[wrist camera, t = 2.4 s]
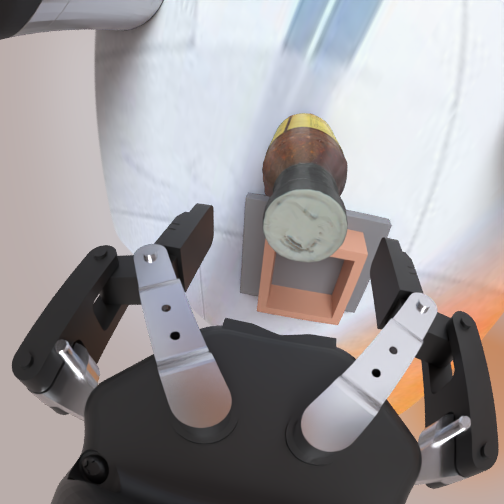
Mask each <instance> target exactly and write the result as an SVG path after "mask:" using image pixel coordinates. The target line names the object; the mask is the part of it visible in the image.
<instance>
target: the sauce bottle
mask: <svg viewBox="0 0 504 504" xmlns="http://www.w3.org/2000/svg"><path fill="white" fill-rule="evenodd" d="M262 171H263V182H264V185H265V194H266V195H267V196H269V197H270V198H269V200H268V202H267V204H266V206H265V210H264V214H263V232H264V237H265V238H266V240H267V242H268V244H269V245H270V246H271V247H272V248H273V250H274V251H275V252H277V253H278V254H279V255H281V256H283V257H285V258H288V259H290V260H294V261H299V262H308V263H309V262H318V261H321V260H323V259H326V258H328V257H329V256H331V255H333V254H334V253H335V252H336V251H337V250H338V248H339V247H340V246H341V245H342V244H343V242H344V240H345V237H346V234H347V229H348V222H347V215H346V209H345V206H344V203H343V201H342V199H341V197H340V195H341V194H342V192H343V189H344V187H345V183H346V179H347V161H346V159H345V157H344V154H343V151H342V149H341V147H340V145H339V144H338V142H337V140H336V138H335V136H334V134H333V132H332V130H331V128H330V127H329V125H328V124H327V123H326V122H325V121H324V120H322V119H321V118H319V117H317V116H315V115H313V114H305V113H302V114H296V115H292V116H290V117H288V118H287V119H286V120H284V121H283V122H282V123H281V125H280V126H279V127H278V129H277V131H276V133H275V135H274V137H273V139H272V141H271V143H270V146H269V148H268V150H267V152H266V156H265V159H264V162H263V169H262Z"/></svg>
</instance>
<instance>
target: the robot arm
mask: <svg viewBox="0 0 504 504" xmlns="http://www.w3.org/2000/svg"><path fill="white" fill-rule="evenodd" d="M162 1H163V0H0V40H1V39H5V38H9V37H15V36H20V35H26V34H33V33H39V32H49V31H60V30H79V29H102V30H130V29H134V28H136V27H138V26H140V25H142V24H143V23H145V22H146V21H147V20H149V19H150V18H151V17H152V16H153V15H154V14H155V12H156V11H157V10H158V8H159V7H160V5H161V3H162ZM213 235H214V220H213V206H212V205H205V204H198V203H197V204H196V205H195V206H194V207H193V208H192V210H191V211H190V212H184V213H182V214H180V215H179V216H177V217H176V218H175V219H174V220H173V221H172V223H171V224H170V225H169V226H168V227H167V229H166V230H165V231H164V232H163V234H162V235H161V236H160V237H159V238H158V240H157V241H156V242H155V243H154V244H149V245H145V246H142V247H140V248H139V249H138V250H137V251H136V252H135V253H134V255H130V256H117V252H116V249H115V248H114V247H112V246H108V245H105V246H99V247H96V248H95V249H93V250H91V251H90V252H89V253H88V254H87V256H86V257H85V258H84V259H83V260H82V262H81V263H80V264H79V265H78V266H77V268H76V269H75V270H74V271H73V273H72V274H71V275H70V276H69V278H68V279H67V280H66V281H65V283H64V284H63V285H62V286H61V288H60V289H59V290H58V292H57V293H56V294H55V296H54V297H53V298H52V300H51V301H50V303H49V304H48V305H47V307H46V308H45V309H44V311H43V312H42V314H41V315H40V317H39V318H38V320H37V321H36V323H35V324H34V325H33V327H32V328H31V330H30V331H29V333H28V334H27V336H26V338H25V339H24V341H23V342H22V344H21V345H20V347H19V349H18V351H17V352H16V354H15V356H14V358H13V361H12V370H13V373H14V375H15V376H16V377H17V378H18V379H19V380H20V381H21V382H22V383H23V384H24V385H25V386H26V387H27V388H28V390H29V391H30V392H31V393H32V394H34V395H35V396H36V397H37V398H38V399H39V400H41V401H42V402H43V403H44V404H45V405H47V406H49V407H50V408H52V409H53V410H54V411H55V412H57V413H59V414H62V415H66V414H71V415H73V416H75V417H77V418H79V419H81V420H83V421H84V423H85V437H84V445H83V450H82V453H81V455H80V457H79V459H78V460H77V462H76V463H75V464H74V466H73V467H72V468H71V470H70V471H69V472H68V473H67V474H66V476H65V477H64V478H63V479H62V480H61V482H60V483H59V485H58V487H57V489H56V492H55V494H54V497H53V500H52V502H51V504H405V503H406V500H407V498H408V495H409V493H410V491H411V489H412V488H413V486H414V485H418V484H426V485H427V486H428V487H430V488H433V489H435V488H439V487H443V486H446V485H449V484H452V483H455V482H457V481H461V480H463V479H466V478H469V477H471V476H474V475H476V474H479V473H481V472H483V471H486V470H488V469H490V468H491V467H492V466H493V465H494V463H495V462H496V459H497V456H498V434H497V423H496V413H495V406H494V399H493V393H492V387H491V382H490V377H489V372H488V367H487V363H486V359H485V355H484V351H483V347H482V344H481V340H480V336H479V333H478V329H477V326H476V323H475V322H474V320H473V319H472V318H471V317H470V316H469V315H468V314H467V313H465V312H462V311H457V312H455V313H454V315H453V316H452V317H451V318H449V317H447V316H445V315H443V314H440V313H438V312H437V306H436V304H435V302H434V301H433V300H432V299H431V298H430V297H429V296H427V295H425V294H423V291H422V288H421V285H420V282H419V279H418V276H417V273H416V270H415V269H414V268H415V267H414V265H413V262H412V260H411V258H410V257H409V256H408V255H407V254H406V252H402V249H401V247H400V244H399V241H398V240H395V239H390V238H386V237H383V238H382V239H381V241H380V243H379V246H378V248H377V251H376V254H375V256H374V259H373V261H372V264H371V268H370V279H371V285H372V291H373V298H374V305H375V312H376V320H377V328H378V329H382V331H381V332H380V333H379V334H378V335H377V337H376V338H375V339H374V340H373V341H372V343H371V344H370V345H369V346H368V347H367V348H366V349H365V351H364V352H363V353H362V354H361V355H360V356H359V357H358V358H357V359H355V358H354V357H353V356H351V355H350V354H349V353H347V352H346V351H344V350H342V349H340V348H338V347H336V338H330V337H324V336H317V335H311V334H304V335H278V334H276V333H273V332H271V331H268V330H266V329H264V328H261V327H259V326H257V325H254V324H252V323H247V322H242V321H238V320H233V319H228V318H225V320H224V323H223V326H211V327H206V328H202V329H199V327H198V325H197V322H196V320H195V317H194V315H193V312H192V310H191V307H190V305H189V302H188V300H187V297H186V295H185V292H186V291H187V289H188V287H189V285H190V283H191V281H192V279H193V278H194V276H195V274H196V272H197V270H198V268H199V267H200V265H201V263H202V261H203V259H204V258H205V256H206V254H207V252H208V250H209V248H210V247H211V244H212V241H213ZM98 294H100V295H99V297H98V298H97V300H96V301H95V303H94V300H95V299H96V297H97V296H98ZM93 303H94V304H93ZM136 304H137V305H142V308H143V313H144V317H145V321H146V325H147V329H148V333H149V337H150V341H151V344H152V348H153V352H154V354H153V355H151V356H149V357H147V358H145V359H144V360H142V361H140V362H138V363H136V364H134V365H133V366H131V367H129V368H127V369H125V370H123V371H122V372H120V373H118V374H116V375H114V376H112V377H110V378H108V379H106V380H104V381H103V382H101V383H100V384H99V385H98V380H99V376H100V372H99V368H98V366H97V363H98V361H99V359H100V357H101V355H102V353H103V351H104V349H105V347H106V345H107V343H108V341H109V339H110V338H111V336H112V334H113V332H114V330H115V329H116V327H117V325H118V323H119V321H120V319H121V317H122V316H123V314H124V312H125V311H126V309H127V307H128V305H136ZM414 357H416V358H418V359H420V360H421V362H422V372H423V383H424V399H425V429H424V430H423V431H422V432H421V434H420V436H419V441H418V442H417V441H416V439H415V438H414V436H413V435H412V434H411V432H410V431H409V429H408V428H407V427H406V425H405V424H404V422H403V421H402V420H401V418H400V417H399V416H398V414H397V413H396V411H395V410H394V409H393V407H392V406H391V405H390V403H389V402H388V401H387V398H388V396H389V395H390V393H391V392H392V391H393V389H394V388H395V386H396V385H397V383H398V382H399V381H400V379H401V378H402V376H403V375H404V373H405V371H406V370H407V368H408V367H409V365H410V364H411V362H412V360H413V359H414ZM452 360H453V362H454V368H455V372H454V375H453V376H452V369H451V363H450V362H451V361H452Z"/></svg>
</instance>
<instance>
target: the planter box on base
mask: <svg viewBox="0 0 504 504" xmlns="http://www.w3.org/2000/svg"><path fill="white" fill-rule="evenodd" d="M269 198H270V197H269V196H266V195H260V194H253V193H248V195H247V197H246V202H245V218H244V234H243V251H242V268H241V286H240V293H244V294H249V295H254V296H258V305H257V311H258V312H263V313H269V314H274V315H279V316H285V317H291V318H296V319H302V320H308V321H314V322H320V323H327V324H333V325H338V324H339V322H340V320H341V317H342V315H343V313H344V311H346V312H353V313H354V312H355V310H356V308H357V306H358V304H359V302H360V300H361V298H362V295H363V293H364V291H365V289H366V287H367V284H368V282H369V280H370V268H371V264H372V261H373V259H374V256H375V254H376V251H377V248H378V246H379V243H380V241H381V239H382V238H383V237H386V238H387V236H388V234H389V231H390V228H391V226H392V225H391V223H390V220H389V219H386V218H382V217H377V216H373V215H368V214H364V213H359V212H354V211H349V210H346V215H347V222H348V229H347V234H346V237H345V240H344V242H343V244H342V245H341V246H340V247H339V248H338V250H337V251H336V252H335V253H334V254H333V255H331V256H329V257H328V258H326V259H323V260H321V261H318V262H309V263H308V262H299V261H294V260H290V259H288V258H285V257H283V256H281V255H279V254H278V253H277V252H275V251H274V250H273V248H272V247H271V246H270V245H269V244H268V242H267V240H266V238H265V237H264V232H263V214H264V210H265V206H266V204H267V202H268V200H269Z"/></svg>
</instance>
